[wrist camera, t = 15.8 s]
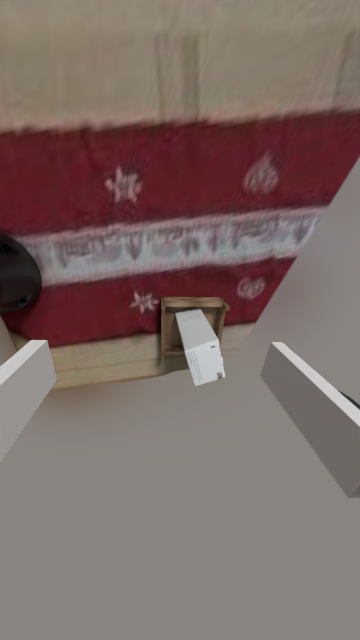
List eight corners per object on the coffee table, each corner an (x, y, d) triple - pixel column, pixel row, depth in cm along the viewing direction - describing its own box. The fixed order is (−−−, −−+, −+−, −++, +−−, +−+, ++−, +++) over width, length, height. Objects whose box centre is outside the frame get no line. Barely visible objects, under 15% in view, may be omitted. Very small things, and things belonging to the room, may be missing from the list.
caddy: (161, 345, 46) (161, 360, 41) (161, 296, 41) (161, 306, 35) (214, 344, 47) (221, 358, 42) (220, 297, 42) (229, 306, 37)
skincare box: (174, 312, 42) (180, 348, 28) (200, 304, 41) (219, 338, 28) (183, 342, 45) (193, 388, 32) (207, 336, 45) (227, 379, 32)
